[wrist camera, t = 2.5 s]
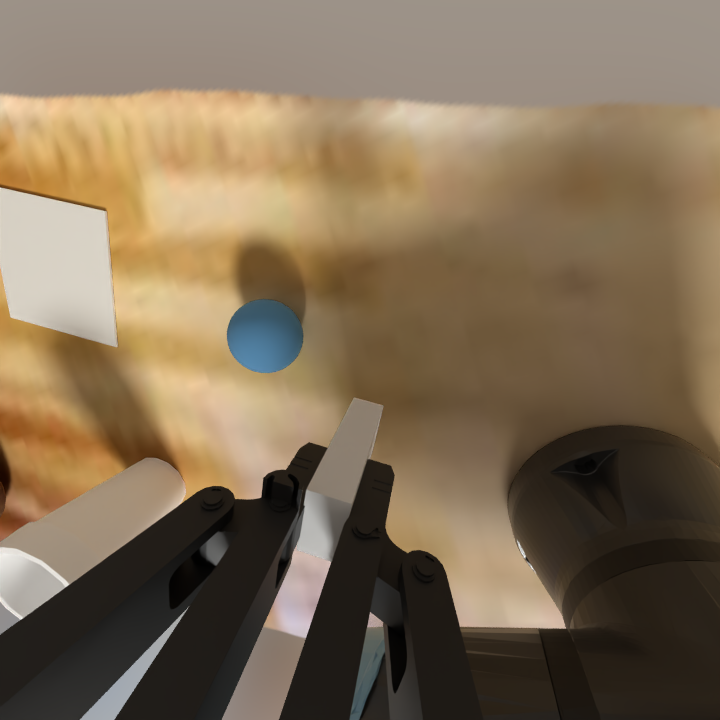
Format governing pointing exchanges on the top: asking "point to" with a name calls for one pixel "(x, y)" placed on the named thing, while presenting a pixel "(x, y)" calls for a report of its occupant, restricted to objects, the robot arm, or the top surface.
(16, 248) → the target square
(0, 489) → the ceramic pitcher
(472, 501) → the top surface
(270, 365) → the ball
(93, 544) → the foam cup
